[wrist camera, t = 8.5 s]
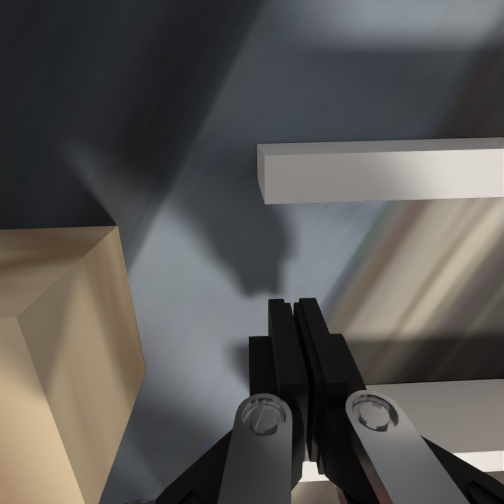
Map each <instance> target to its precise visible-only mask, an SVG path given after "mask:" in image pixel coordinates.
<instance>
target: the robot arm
mask: <svg viewBox="0 0 504 504" xmlns="http://www.w3.org/2000/svg"><path fill="white" fill-rule="evenodd" d="M249 377H250V397H248V398H247V399H245V400H244V401H243V402H242V403H241V404H240V405H239V407H238V409H237V412H236V416H235V421H234V425H233V429H232V430H231V431H230V432H228V433H227V434H226V435H225V436H224V437H223V438H222V439H221V440H219V441H218V442H217V443H216V444H215V445H214V446H213V447H212V448H211V449H209V450H208V451H207V452H206V453H205V454H204V455H203V456H202V457H201V458H199V459H198V460H197V461H196V462H195V463H194V464H193V465H192V466H190V467H189V468H188V469H187V470H186V471H185V472H184V473H183V474H182V475H180V476H179V477H178V478H177V479H176V480H175V481H174V482H173V483H172V484H170V485H169V486H168V487H167V488H166V489H165V490H164V491H163V492H162V493H161V494H160V496H159V497H158V498H157V499H156V500H153V501H150V502H146V503H143V500H142V499H140V500H136V501H133V502H129V503H126V504H291V491H292V490H293V488H294V487H295V486H296V485H297V483H298V482H299V481H300V479H301V478H302V469H303V462H305V450H306V446H307V451H308V456H309V460H310V462H316V464H317V469H318V474H319V475H325V477H327V478H328V479H329V480H330V481H331V482H333V483H334V484H335V485H336V491H337V495H338V498H339V501H340V504H504V485H503V484H502V483H500V482H499V481H497V480H496V479H494V478H493V477H491V476H489V475H488V474H486V473H484V472H483V471H481V470H479V469H478V468H476V467H474V466H472V465H471V464H469V463H467V462H466V461H464V460H462V459H460V458H459V457H457V456H455V455H454V454H452V453H450V452H449V451H447V450H445V449H443V448H442V447H440V446H438V445H437V444H435V443H433V442H431V441H430V440H428V439H426V438H425V437H423V436H421V435H420V434H419V433H418V431H417V430H416V428H415V427H414V426H413V424H412V423H411V421H410V420H409V419H408V417H407V416H406V415H405V413H404V412H403V410H402V409H401V408H400V407H399V405H398V404H397V403H396V402H395V401H394V400H392V399H391V398H389V397H388V396H386V395H384V394H382V393H380V392H376V391H371V390H367V388H366V386H365V384H364V382H363V379H362V377H361V375H360V373H359V371H358V368H357V366H356V364H355V362H354V359H353V357H352V355H351V353H350V350H349V348H348V346H347V344H346V342H345V339H344V337H343V336H342V334H330V333H329V331H328V328H327V326H326V323H325V321H324V318H323V316H322V313H321V310H320V308H319V305H318V303H317V300H316V298H300V299H299V302H294V312H293V313H292V309H291V305H290V303H285V302H284V299H269V300H268V336H253V337H249Z"/></svg>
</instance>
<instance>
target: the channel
mask: <svg viewBox="0 0 504 504" xmlns="http://www.w3.org/2000/svg"><path fill="white" fill-rule="evenodd" d="M257 176H258V183H259V186H260V189H261V193H262V196H263V200H264V203H265V204H292V203H322V202H353V201H384V200H415V199H445V198H476V197H504V137H495V138H459V139H422V140H386V141H350V142H314V143H278V144H257ZM365 386H366V388H367V390H371V391H376V392H380V393H382V394H384V395H386V396H388V397H389V398H391V399H392V400H394V401H395V402H396V403H397V404H398V405H399V407H400V408H401V409H402V410H403V412H404V413H405V415H406V416H407V417H408V419H409V420H410V421H411V423H412V424H413V426H414V427H415V428H416V430H417V431H418V433H419V434H420V435H421V436H423V437H425V438H426V439H428V440H430V441H431V442H433V443H435V444H437V445H438V446H440V447H442V448H443V449H445V450H447V451H449V452H450V453H452V454H454V455H455V456H457V457H459V458H460V459H462V460H464V461H466V462H467V463H469V464H471V465H472V466H474V467H476V468H478V469H479V470H481V471H483V472H487V471H504V379H490V380H469V381H448V382H427V383H405V384H384V385H365ZM324 480H329V479H328V478H327V477H325V475H319V474H318V469H317V464H316V462H310V460H309V456H308V451H307V446H306V450H305V462H303V469H302V478H301V479H300V481H299V482H305V481H324Z"/></svg>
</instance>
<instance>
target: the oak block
mask: <svg viewBox="0 0 504 504" xmlns="http://www.w3.org/2000/svg"><path fill="white" fill-rule="evenodd" d="M145 373H146V368H145V363H144V358H143V352H142V347H141V342H140V337H139V332H138V327H137V322H136V317H135V312H134V307H133V302H132V297H131V292H130V287H129V281H128V276H127V271H126V266H125V261H124V256H123V251H122V246H121V241H120V236H119V231H118V226H97V227H67V228H38V229H8V230H0V504H98V503H99V500H100V498H101V495H102V492H103V489H104V487H105V484H106V481H107V478H108V476H109V473H110V470H111V467H112V465H113V462H114V459H115V456H116V453H117V451H118V448H119V445H120V442H121V440H122V437H123V434H124V431H125V429H126V426H127V423H128V420H129V418H130V415H131V412H132V409H133V406H134V404H135V401H136V398H137V395H138V393H139V390H140V387H141V384H142V382H143V379H144V376H145Z"/></svg>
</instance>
